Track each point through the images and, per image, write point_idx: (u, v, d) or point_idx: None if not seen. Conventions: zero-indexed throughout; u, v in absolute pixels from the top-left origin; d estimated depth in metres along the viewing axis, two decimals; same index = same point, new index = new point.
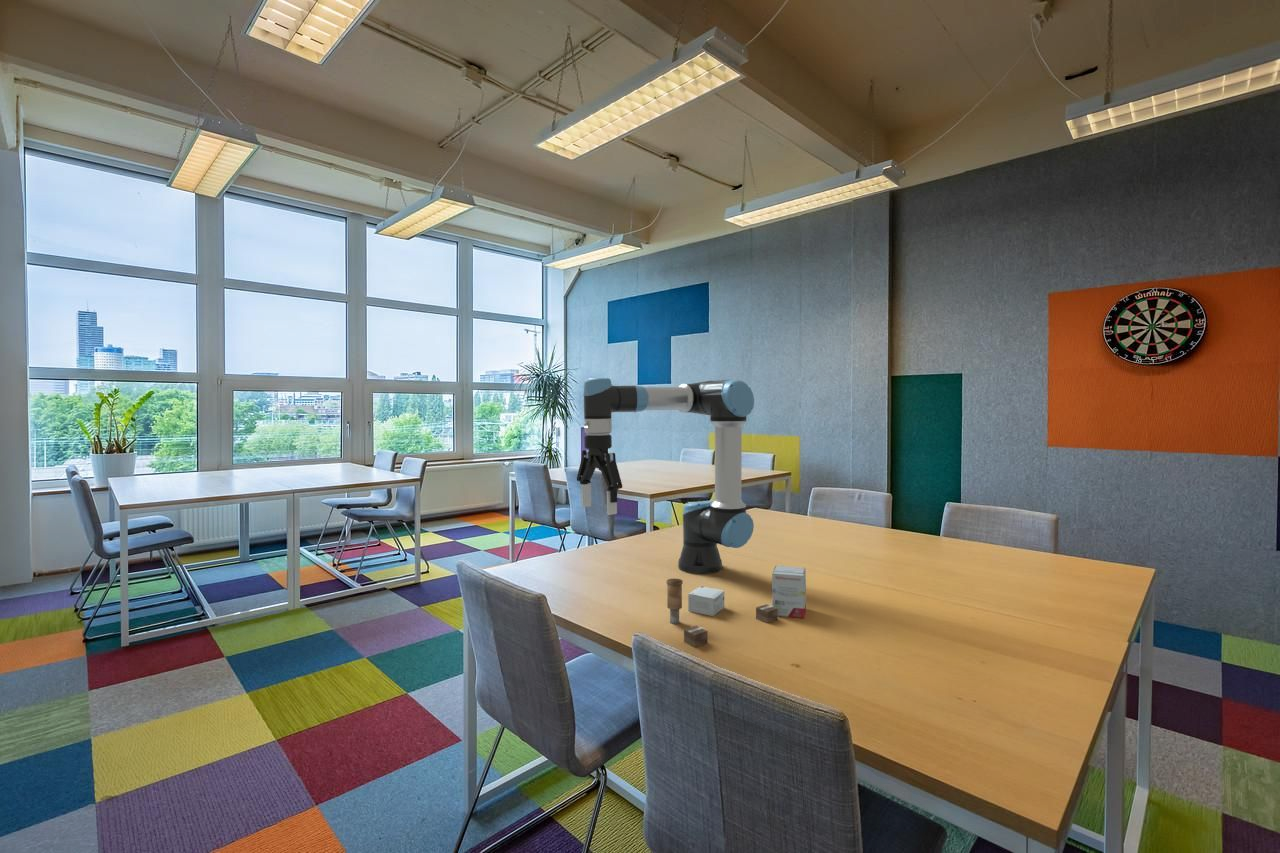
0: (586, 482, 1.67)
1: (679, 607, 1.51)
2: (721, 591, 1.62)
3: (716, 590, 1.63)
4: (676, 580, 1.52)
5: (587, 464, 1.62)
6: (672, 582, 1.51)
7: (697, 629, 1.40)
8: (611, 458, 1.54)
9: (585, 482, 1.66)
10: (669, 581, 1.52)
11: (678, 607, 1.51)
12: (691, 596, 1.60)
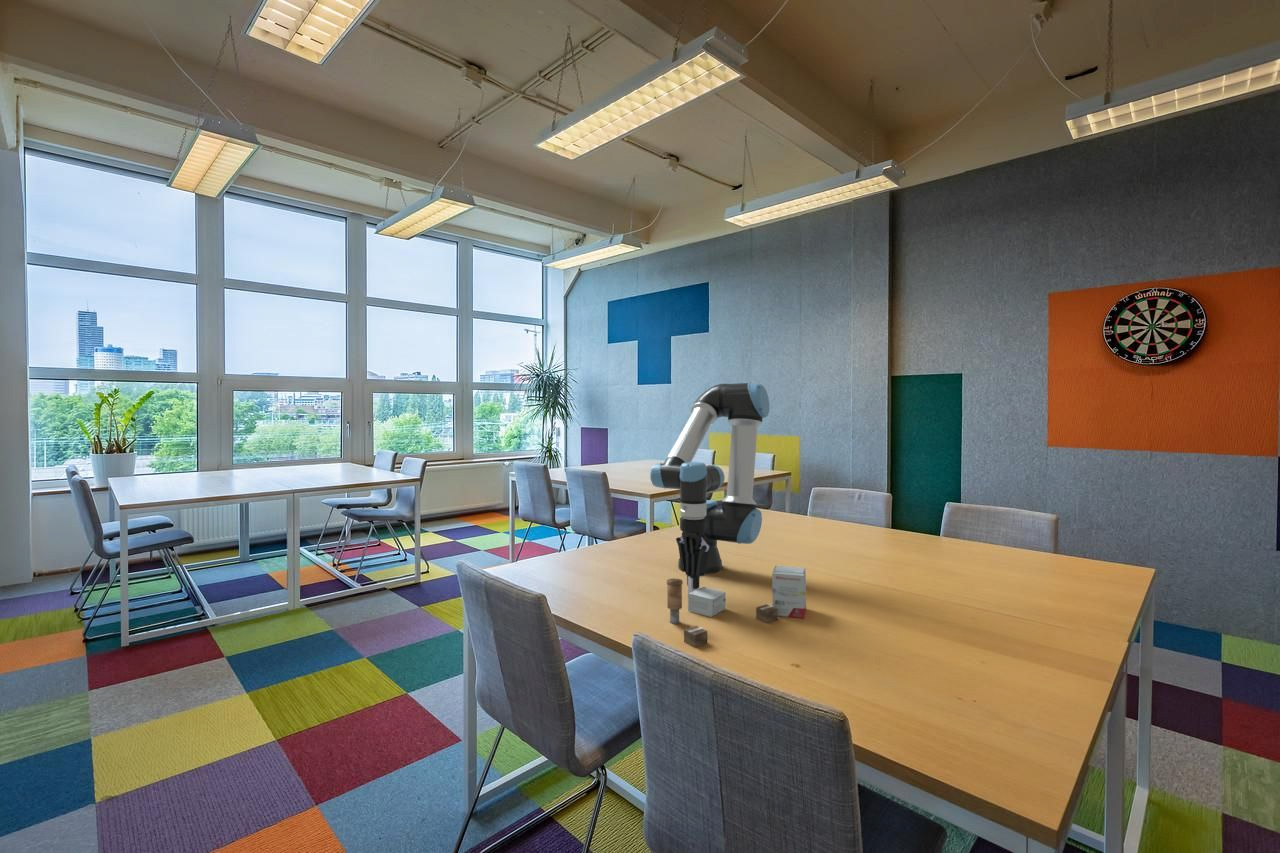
0: (692, 572, 1.66)
1: (679, 607, 1.51)
2: (722, 592, 1.61)
3: (718, 591, 1.62)
4: (676, 580, 1.52)
5: (685, 548, 1.65)
6: (672, 582, 1.51)
7: (697, 629, 1.40)
8: (706, 550, 1.61)
9: (691, 573, 1.66)
10: (669, 581, 1.52)
11: (678, 607, 1.51)
12: (691, 596, 1.60)
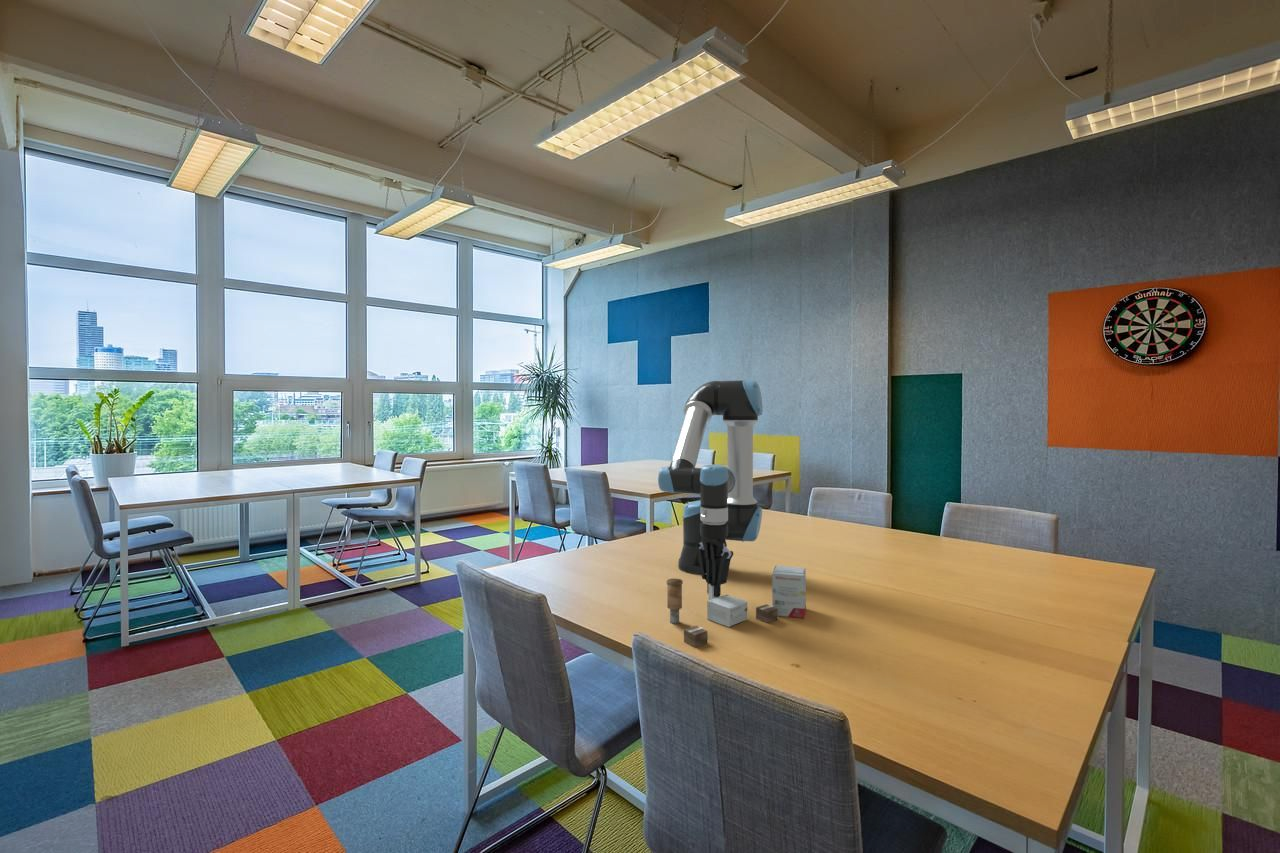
0: None
1: (679, 607, 1.51)
2: (743, 602, 1.53)
3: (739, 600, 1.54)
4: (676, 580, 1.52)
5: (706, 555, 1.58)
6: (672, 582, 1.51)
7: (697, 629, 1.40)
8: (728, 557, 1.54)
9: (712, 581, 1.59)
10: (669, 581, 1.52)
11: (678, 607, 1.51)
12: (710, 603, 1.53)
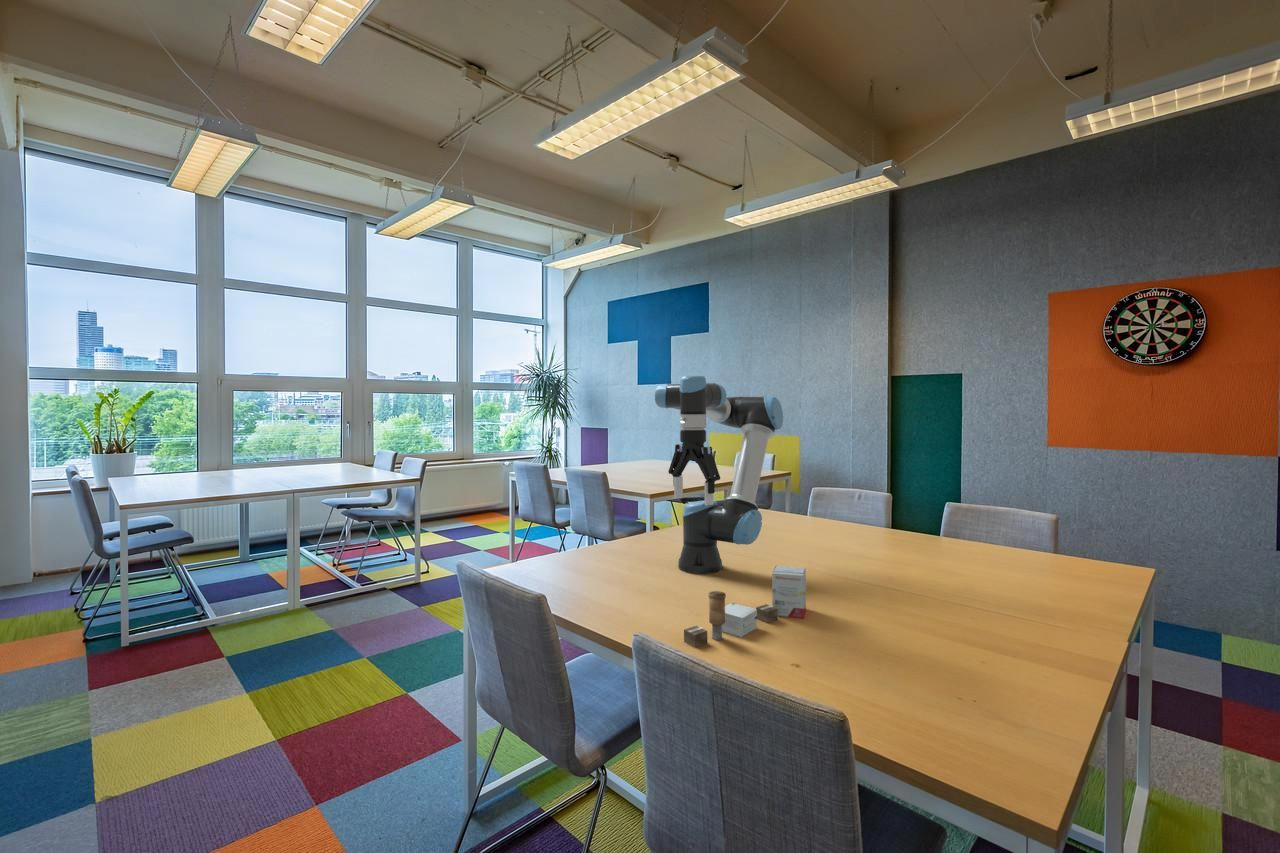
0: (678, 475, 1.75)
1: (722, 622, 1.41)
2: (753, 610, 1.48)
3: (748, 608, 1.49)
4: (719, 593, 1.42)
5: (682, 457, 1.70)
6: (715, 595, 1.40)
7: (697, 629, 1.40)
8: (709, 451, 1.63)
9: (677, 475, 1.75)
10: (711, 594, 1.41)
11: (721, 622, 1.40)
12: None
